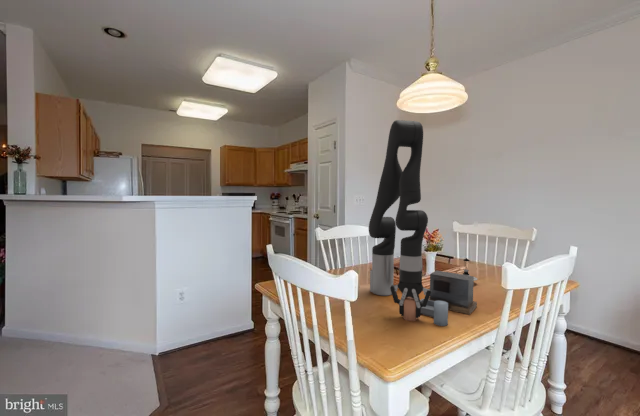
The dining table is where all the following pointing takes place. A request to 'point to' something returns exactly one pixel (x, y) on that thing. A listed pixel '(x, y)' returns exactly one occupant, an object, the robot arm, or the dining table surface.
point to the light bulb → (467, 270)
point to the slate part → (441, 313)
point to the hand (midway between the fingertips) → (409, 316)
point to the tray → (428, 308)
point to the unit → (453, 291)
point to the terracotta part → (409, 309)
